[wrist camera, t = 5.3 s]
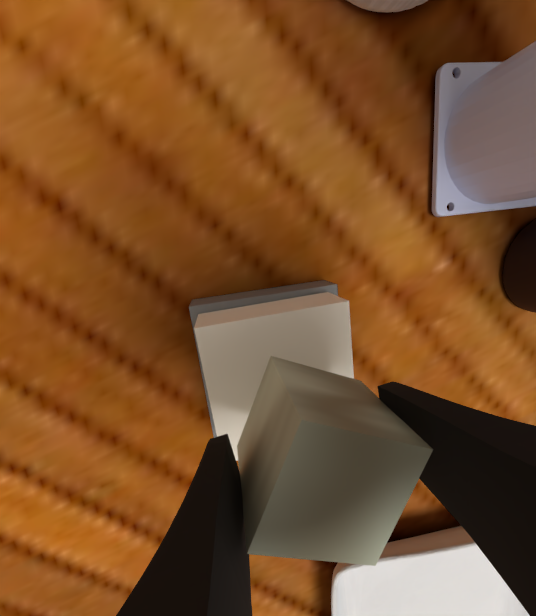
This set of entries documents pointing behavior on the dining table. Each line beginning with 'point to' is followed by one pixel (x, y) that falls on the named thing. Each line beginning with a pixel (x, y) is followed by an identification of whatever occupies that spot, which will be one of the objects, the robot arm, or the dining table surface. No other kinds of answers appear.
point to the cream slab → (268, 349)
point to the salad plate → (424, 581)
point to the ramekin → (387, 5)
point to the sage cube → (324, 467)
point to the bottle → (522, 269)
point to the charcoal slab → (250, 299)
